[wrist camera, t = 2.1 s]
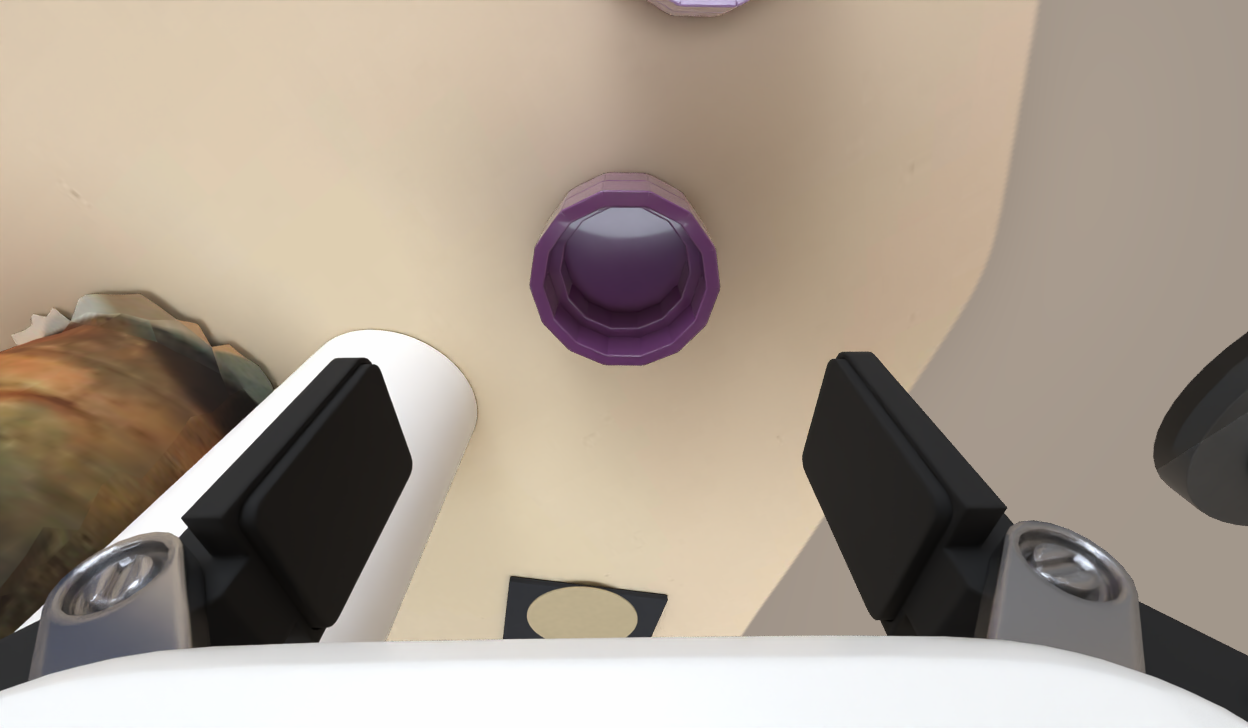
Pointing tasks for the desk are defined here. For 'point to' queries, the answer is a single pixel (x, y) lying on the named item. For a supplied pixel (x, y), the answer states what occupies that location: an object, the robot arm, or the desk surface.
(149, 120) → the desk surface
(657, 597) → the mat
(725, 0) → the lilac dish
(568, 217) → the plum dish
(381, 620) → the cup
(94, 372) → the vessel
